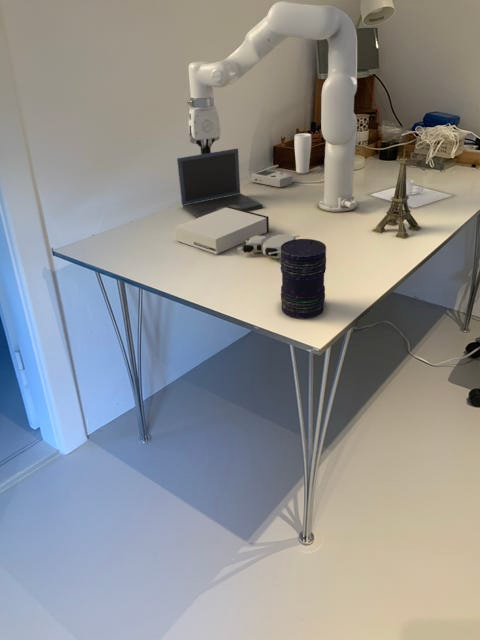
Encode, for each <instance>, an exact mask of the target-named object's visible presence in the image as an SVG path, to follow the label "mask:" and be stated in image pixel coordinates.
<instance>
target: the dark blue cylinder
mask: <svg viewBox="0 0 480 640" xmlns="http://www.w3.org/2000/svg"><path fill="white" fill-rule="evenodd" d="M279 259H280V262H279V263H280V273H281V286H280V302H281V312H282V313H283V314H284V315H285V316H287V317H289V318H292V319H297V320H310V319H314V318H317V317H319V316H321V315H322V314H323V313H324V311H325V301H326V287H325V286H326V285H325V274H326V270H327V245H326V244H325V243H324V242H322V241H320V240H317V239H313V238H312V239H311V238H296V239H295V240H290V241H287V242H285V243H284V244H282V246H281V258H279Z"/></svg>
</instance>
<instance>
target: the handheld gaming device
mask: <svg viewBox="0 0 480 640" xmlns="http://www.w3.org/2000/svg"><path fill="white" fill-rule="evenodd" d="M250 177H251V182H252V183H257V184H261V185H266V186H271V187H276V188H285V187H286V186H290V185H292V184H293V175H292V174H290V173H287V172H283V171H279V170H273V169H267V168H265V169H261V170H259V171H256V172H253V173H251V174H250Z"/></svg>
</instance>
